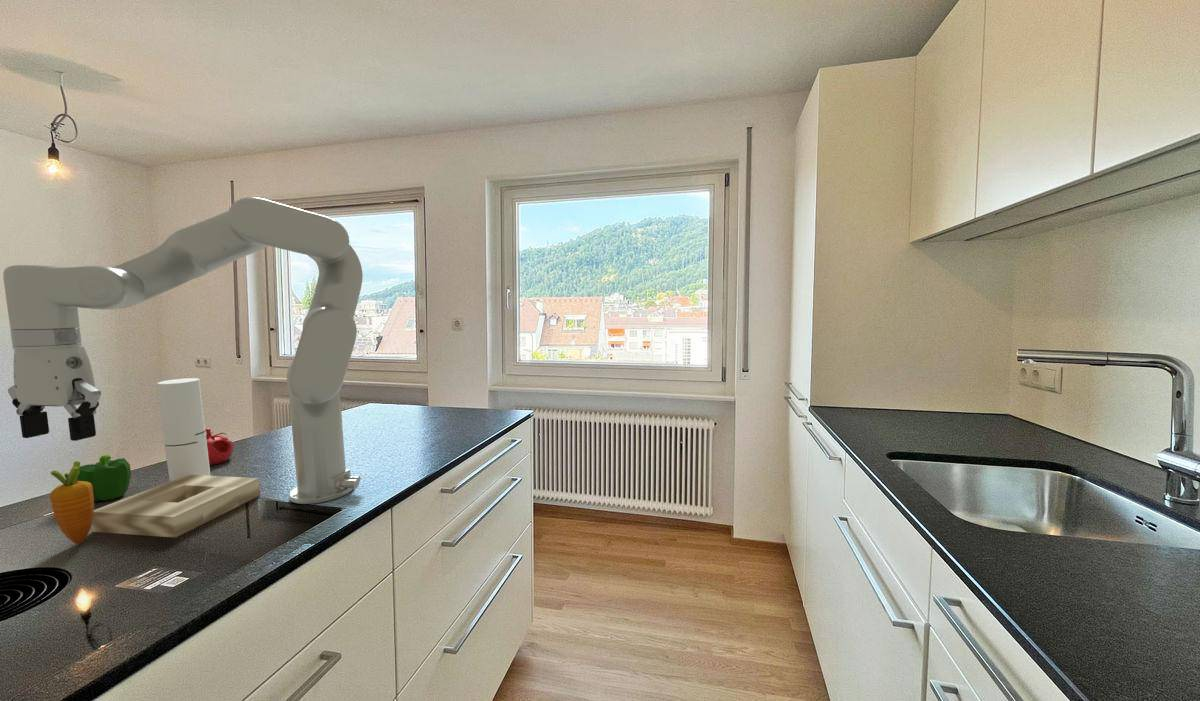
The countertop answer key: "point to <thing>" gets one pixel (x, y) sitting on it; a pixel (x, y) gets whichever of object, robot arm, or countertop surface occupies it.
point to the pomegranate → (218, 447)
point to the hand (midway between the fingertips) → (59, 437)
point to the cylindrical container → (183, 427)
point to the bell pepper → (107, 477)
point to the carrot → (73, 504)
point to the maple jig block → (175, 505)
